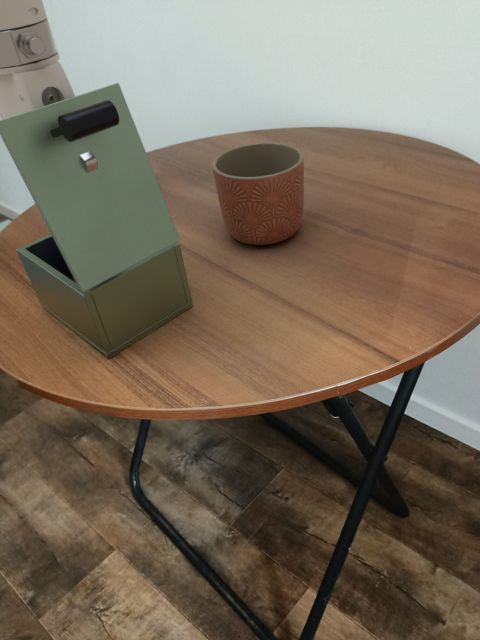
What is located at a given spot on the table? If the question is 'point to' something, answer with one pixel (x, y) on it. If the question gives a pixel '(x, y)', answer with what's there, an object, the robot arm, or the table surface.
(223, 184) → the planter
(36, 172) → the green box lid
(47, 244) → the box base
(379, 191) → the table surface
